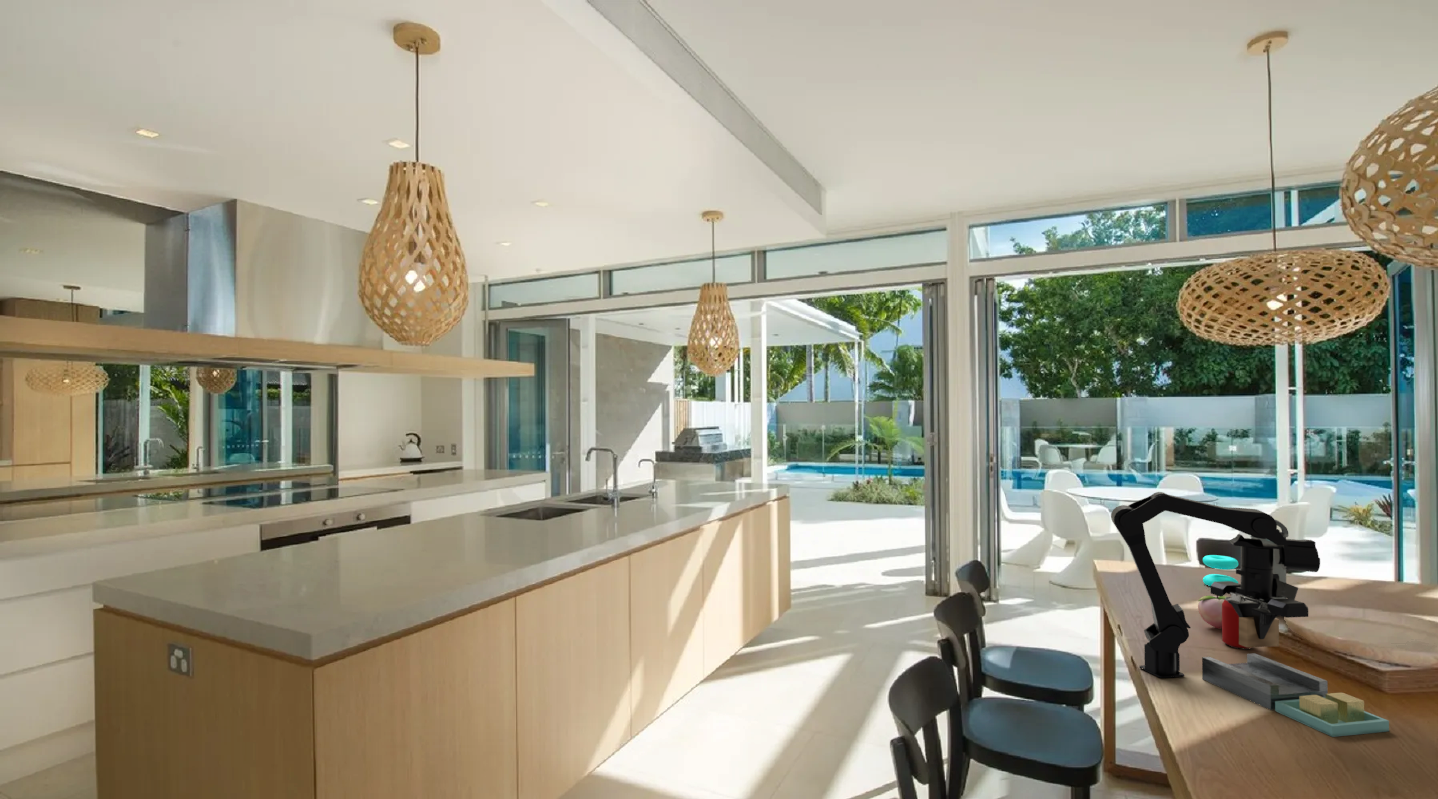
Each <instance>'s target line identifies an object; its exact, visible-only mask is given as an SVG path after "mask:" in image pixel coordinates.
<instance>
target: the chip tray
mask: <svg viewBox="0 0 1438 799" xmlns="http://www.w3.org/2000/svg"><path fill="white" fill-rule="evenodd" d="M1323 698H1326V697H1323ZM1274 712H1277V713H1279V714H1280V715H1283V716H1286V717H1288V718H1289V719H1292V720H1295V721H1296V722H1299V723H1301V724H1303V725H1305V726H1307V727H1309V728H1312V729H1314V730H1316V731H1318V732H1319V733H1320V732H1321V733H1323V734H1325V735H1328V736H1329V737H1332V738H1334V737H1336V738H1337V737H1343V736H1344V737H1345V736H1346V737H1347V736H1355V735H1356V736H1357V735H1363V734H1364V735H1366V734H1375V733H1386V732H1390V720H1388V719H1385V718H1383V717H1380V716H1378V715H1376V714H1373V713H1370V712H1368V711H1365V710H1364V721H1357V722H1347V723H1346V722H1344V721H1341V720H1339V719H1338V723H1336V724H1330V723H1328V722H1326V721H1323V720H1321V719H1319V718H1317V717H1314V716H1312V715H1310V714H1307V713H1305V712H1303V711H1300V708H1299V699H1295V700H1284V701H1275V710H1274Z"/></svg>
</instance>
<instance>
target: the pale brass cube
mask: <svg viewBox="0 0 1438 799" xmlns="http://www.w3.org/2000/svg"><path fill="white" fill-rule="evenodd" d="M1299 708H1300V711H1303V712H1305V713H1307V714H1310V715H1312V716H1314V717H1317V718H1319V719H1321V720H1323V721H1326V722H1328V723H1330V724H1336V723H1338V703H1335V702H1333V701H1330V700H1328V699H1326V698H1323V697H1321V696H1318V695H1308V696H1299Z"/></svg>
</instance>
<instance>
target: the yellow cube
mask: <svg viewBox="0 0 1438 799" xmlns="http://www.w3.org/2000/svg"><path fill="white" fill-rule="evenodd" d="M1325 695H1326V699H1328V700H1330V701H1333V702H1335V703H1338V719H1339V720H1341V721H1344V722H1346V723H1347V722H1357V721H1364V711H1365V700H1363V699H1361V698H1358V697H1354V696H1353V695H1350V694H1347V693H1344V692H1332V693H1328V694H1325Z"/></svg>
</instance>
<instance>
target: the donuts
mask: <svg viewBox="0 0 1438 799" xmlns="http://www.w3.org/2000/svg"><path fill="white" fill-rule="evenodd" d="M1202 563H1203V564H1204V565H1205V566H1207V567H1208V568H1209V567H1210V568H1212V569H1216V570H1226V571H1227V570H1234V569H1237V567H1238V566H1239V561H1238V560H1237V559H1236V558H1235V557H1231V556H1227V555H1219V554H1218V555H1217V554H1209V555H1208V554H1207V555H1205V556H1204V557H1202ZM1222 581H1231V582H1235V583H1238V584H1240V583H1239V581H1238V580H1237V578H1234V577H1232V576H1229V575H1226V574H1218V573H1210V574H1206V575H1205V576H1204V577H1203V578H1202V582H1203V584H1204V585H1205V586H1207V585H1208V586H1207V587H1210V588H1211V585H1212V584H1213V582H1222Z"/></svg>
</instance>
